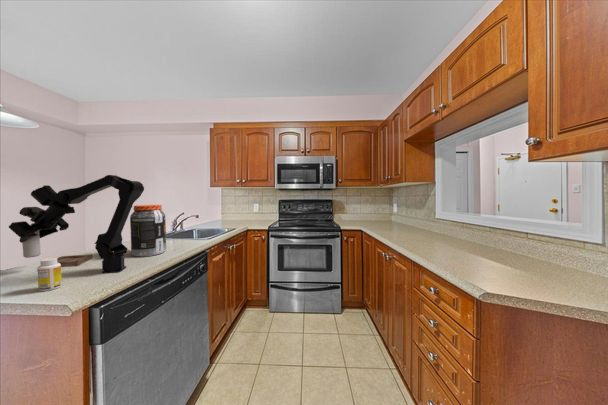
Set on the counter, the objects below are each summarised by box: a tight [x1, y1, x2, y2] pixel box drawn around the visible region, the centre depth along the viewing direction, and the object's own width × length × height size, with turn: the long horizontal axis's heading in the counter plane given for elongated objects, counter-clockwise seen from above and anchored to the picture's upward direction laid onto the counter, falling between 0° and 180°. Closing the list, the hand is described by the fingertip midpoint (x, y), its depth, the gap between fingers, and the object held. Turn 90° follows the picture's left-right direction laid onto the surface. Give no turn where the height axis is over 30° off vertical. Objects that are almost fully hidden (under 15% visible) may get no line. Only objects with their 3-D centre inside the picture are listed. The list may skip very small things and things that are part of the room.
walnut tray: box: [56, 254, 94, 268], centre depth 111 cm, size 12×12×2 cm
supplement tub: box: [129, 204, 167, 257], centre depth 128 cm, size 16×16×26 cm
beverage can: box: [21, 230, 41, 259], centre depth 99 cm, size 5×5×12 cm
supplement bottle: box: [36, 257, 63, 292], centre depth 82 cm, size 6×6×10 cm
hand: (27, 240), depth 99 cm, fingers closed on beverage can, 5 cm apart
